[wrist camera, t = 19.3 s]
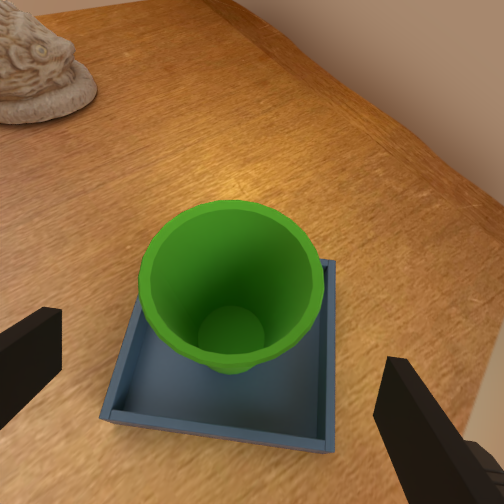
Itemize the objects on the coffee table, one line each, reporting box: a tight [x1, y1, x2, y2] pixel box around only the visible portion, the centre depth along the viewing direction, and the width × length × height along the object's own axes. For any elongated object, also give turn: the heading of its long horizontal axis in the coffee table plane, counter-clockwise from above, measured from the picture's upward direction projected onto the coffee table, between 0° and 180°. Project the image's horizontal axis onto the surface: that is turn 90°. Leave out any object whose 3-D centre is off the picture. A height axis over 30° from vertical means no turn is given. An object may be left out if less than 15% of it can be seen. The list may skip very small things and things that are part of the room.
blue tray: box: [99, 259, 336, 454], centre depth 26 cm, size 14×13×3 cm
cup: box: [138, 200, 324, 375], centre depth 22 cm, size 9×9×11 cm
